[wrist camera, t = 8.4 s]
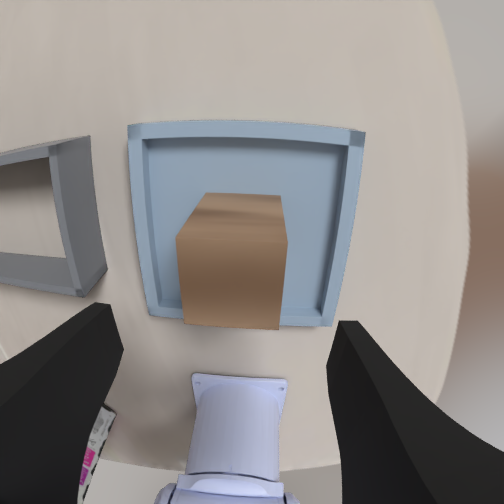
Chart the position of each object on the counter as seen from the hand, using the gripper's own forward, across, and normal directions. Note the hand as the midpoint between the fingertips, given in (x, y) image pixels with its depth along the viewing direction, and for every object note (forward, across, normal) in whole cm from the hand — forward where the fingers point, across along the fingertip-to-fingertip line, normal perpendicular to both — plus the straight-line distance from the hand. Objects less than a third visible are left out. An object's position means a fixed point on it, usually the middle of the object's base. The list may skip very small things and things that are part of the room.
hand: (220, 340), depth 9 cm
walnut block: (+9, 0, 0) cm, 9 cm away
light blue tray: (+9, 0, 0) cm, 9 cm away
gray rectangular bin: (+9, +18, -1) cm, 20 cm away
